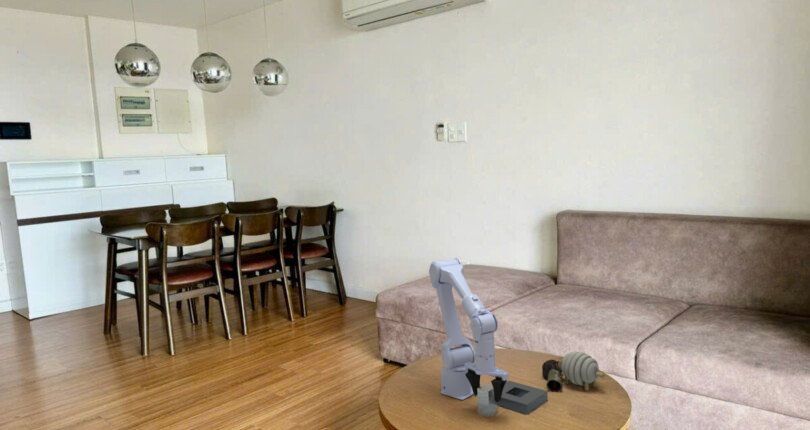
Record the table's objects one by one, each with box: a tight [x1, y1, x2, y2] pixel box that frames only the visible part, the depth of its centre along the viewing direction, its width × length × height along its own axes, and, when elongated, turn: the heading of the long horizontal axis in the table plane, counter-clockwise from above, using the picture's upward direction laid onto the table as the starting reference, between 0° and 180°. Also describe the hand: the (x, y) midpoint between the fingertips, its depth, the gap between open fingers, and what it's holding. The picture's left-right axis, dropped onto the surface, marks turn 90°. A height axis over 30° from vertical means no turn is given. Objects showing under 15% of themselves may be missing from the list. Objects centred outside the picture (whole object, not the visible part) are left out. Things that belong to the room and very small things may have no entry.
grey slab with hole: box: [497, 380, 549, 415], centre depth 175 cm, size 14×12×3 cm
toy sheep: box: [558, 351, 606, 392], centre depth 183 cm, size 11×17×11 cm, turn 42°
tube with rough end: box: [541, 358, 563, 393], centre depth 189 cm, size 18×7×6 cm, turn 163°
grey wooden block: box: [477, 383, 498, 418], centre depth 168 cm, size 4×4×8 cm
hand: (487, 397), depth 168 cm, fingers open, 7 cm apart
